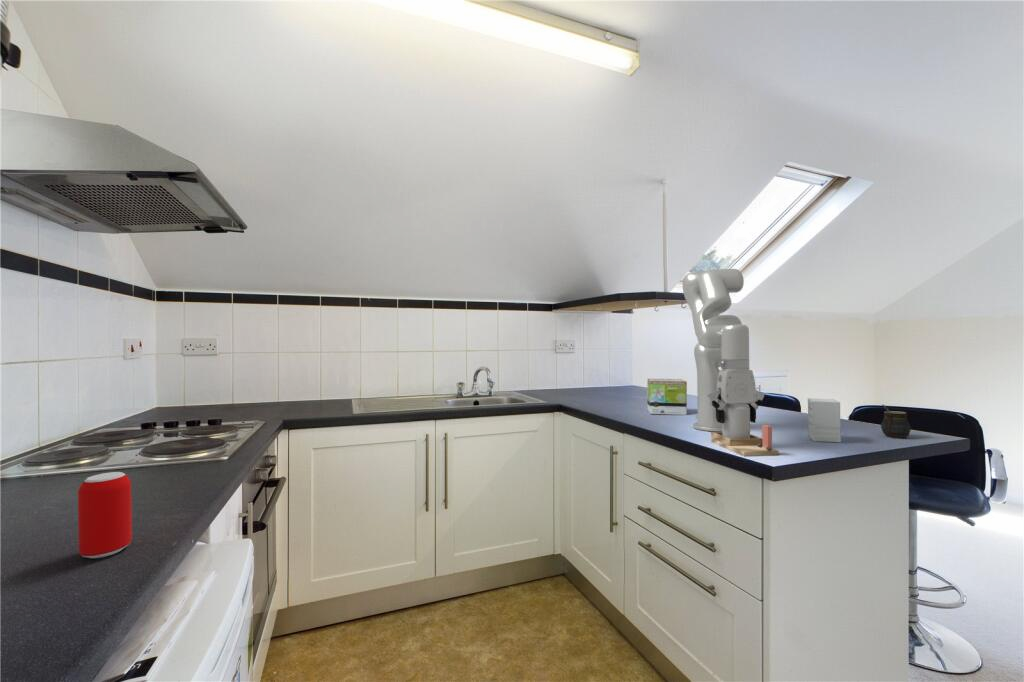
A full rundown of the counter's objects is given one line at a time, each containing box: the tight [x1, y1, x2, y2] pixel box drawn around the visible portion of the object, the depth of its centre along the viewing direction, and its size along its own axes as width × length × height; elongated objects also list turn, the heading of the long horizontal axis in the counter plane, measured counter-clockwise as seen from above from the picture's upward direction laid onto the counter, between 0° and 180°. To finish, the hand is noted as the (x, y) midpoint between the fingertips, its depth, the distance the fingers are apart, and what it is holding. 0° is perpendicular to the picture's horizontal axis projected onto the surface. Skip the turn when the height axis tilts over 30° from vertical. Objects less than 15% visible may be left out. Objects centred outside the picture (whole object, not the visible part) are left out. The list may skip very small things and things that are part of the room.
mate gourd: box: [880, 404, 912, 439], centre depth 141 cm, size 7×8×10 cm
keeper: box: [761, 424, 773, 448], centre depth 123 cm, size 2×6×1 cm
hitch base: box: [710, 431, 780, 457], centre depth 129 cm, size 17×10×3 cm, turn 4°
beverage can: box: [77, 471, 133, 559], centre depth 69 cm, size 6×6×12 cm
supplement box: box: [807, 397, 842, 444], centre depth 138 cm, size 7×7×13 cm
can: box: [721, 403, 751, 439], centre depth 132 cm, size 8×8×12 cm
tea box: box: [646, 378, 688, 416], centre depth 191 cm, size 15×10×15 cm, turn 81°
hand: (736, 422), depth 132 cm, fingers open, 9 cm apart
